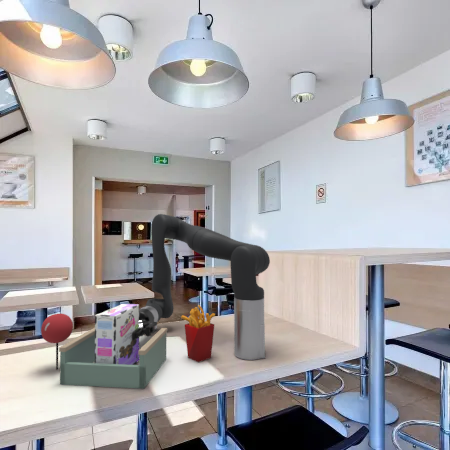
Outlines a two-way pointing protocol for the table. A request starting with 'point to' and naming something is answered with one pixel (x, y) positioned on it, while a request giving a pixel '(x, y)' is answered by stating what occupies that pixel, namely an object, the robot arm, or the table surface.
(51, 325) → the lollipop
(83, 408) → the table surface
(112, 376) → the low partition wall
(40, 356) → the table surface
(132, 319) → the candy box
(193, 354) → the french fries
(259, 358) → the robot arm
